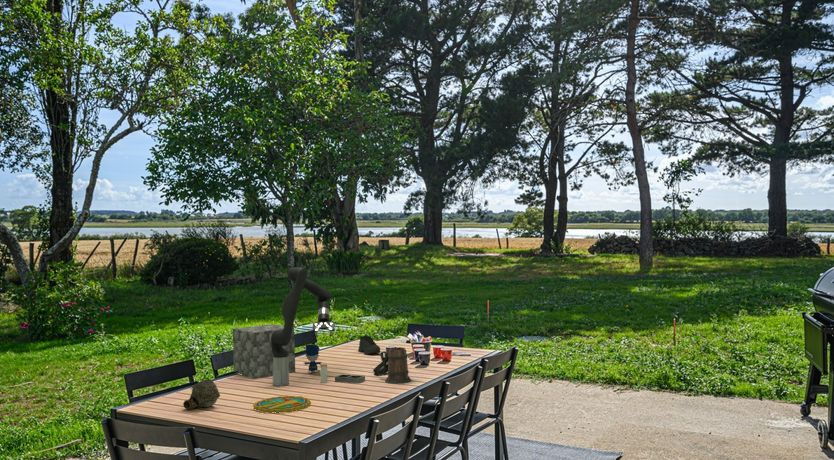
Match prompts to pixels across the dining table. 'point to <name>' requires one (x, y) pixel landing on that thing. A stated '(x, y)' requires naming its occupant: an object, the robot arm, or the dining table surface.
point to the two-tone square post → (323, 372)
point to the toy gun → (381, 367)
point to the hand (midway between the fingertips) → (323, 336)
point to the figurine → (312, 357)
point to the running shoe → (368, 345)
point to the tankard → (395, 366)
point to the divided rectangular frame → (349, 378)
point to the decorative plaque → (282, 404)
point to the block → (258, 351)
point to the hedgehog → (202, 395)
